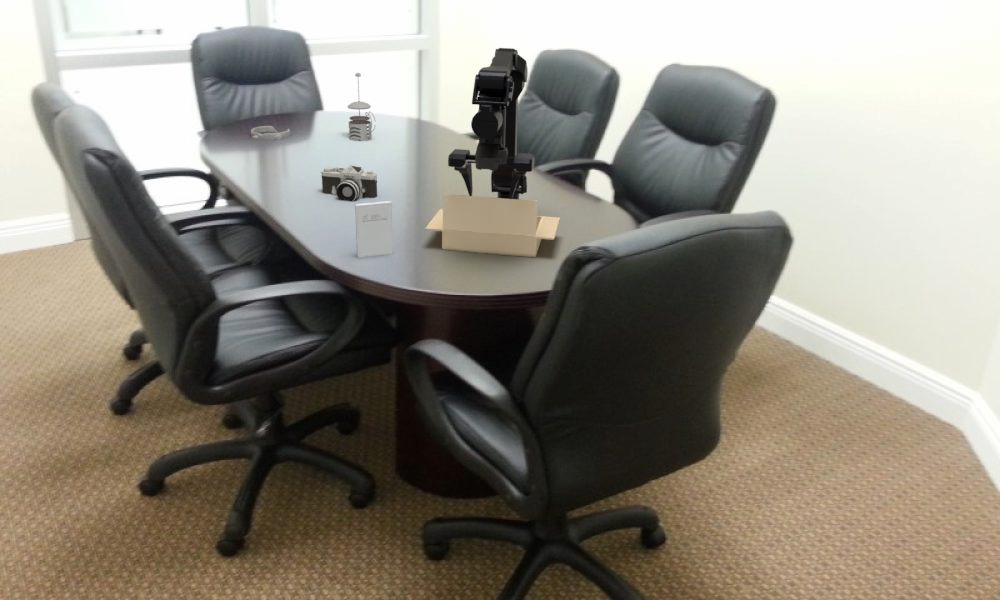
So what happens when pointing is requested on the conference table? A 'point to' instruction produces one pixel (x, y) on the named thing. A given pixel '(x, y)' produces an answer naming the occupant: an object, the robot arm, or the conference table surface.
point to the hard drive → (374, 228)
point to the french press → (360, 120)
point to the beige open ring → (269, 136)
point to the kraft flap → (490, 214)
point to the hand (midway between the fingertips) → (490, 197)
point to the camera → (349, 183)
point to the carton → (495, 238)
